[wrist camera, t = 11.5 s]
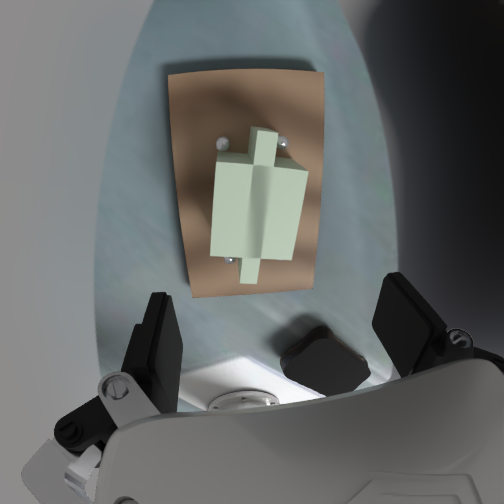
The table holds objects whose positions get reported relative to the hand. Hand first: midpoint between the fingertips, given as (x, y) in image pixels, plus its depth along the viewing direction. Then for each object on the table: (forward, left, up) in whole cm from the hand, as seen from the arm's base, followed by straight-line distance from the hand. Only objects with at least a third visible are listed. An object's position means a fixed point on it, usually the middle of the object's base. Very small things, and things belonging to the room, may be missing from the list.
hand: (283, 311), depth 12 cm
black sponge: (-26, -11, -17) cm, 33 cm away
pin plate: (+1, 0, -17) cm, 17 cm away
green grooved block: (0, 0, -15) cm, 15 cm away
